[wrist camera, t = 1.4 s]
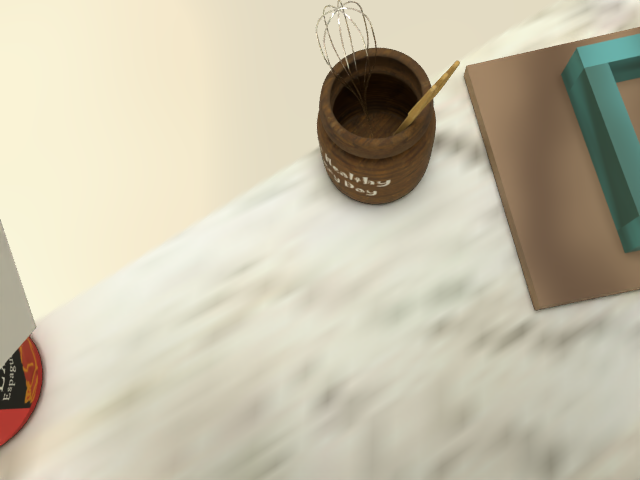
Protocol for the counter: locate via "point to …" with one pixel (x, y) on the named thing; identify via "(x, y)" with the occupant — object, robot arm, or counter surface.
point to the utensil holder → (376, 120)
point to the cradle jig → (567, 162)
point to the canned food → (19, 389)
